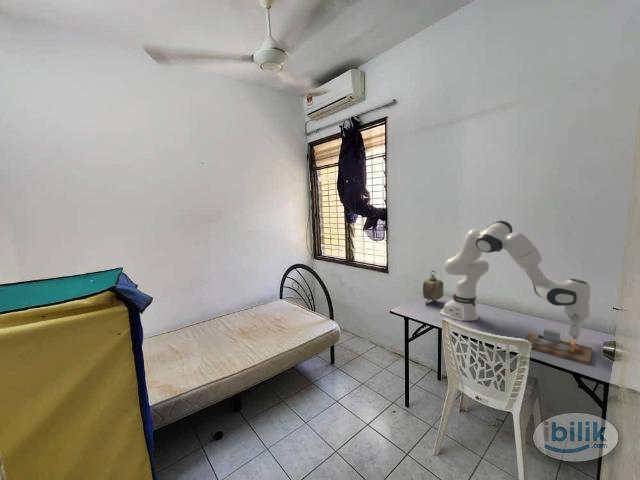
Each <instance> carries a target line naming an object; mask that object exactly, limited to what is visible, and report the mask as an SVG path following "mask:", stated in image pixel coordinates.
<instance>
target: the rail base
mask: <svg viewBox="0 0 640 480" xmlns="http://www.w3.org/2000/svg"><path fill="white" fill-rule="evenodd" d="M525 339H526V340H528V341H529V342H530V343H531V346H532V349H531V350H533V349H534V351H537V350H538V351H537V352H541V351H542V353H544V352H545V354H548V353H549V354H548V355H551V354H552V356H555V357H558V358H559V357H560V358H562V359H567V360H571V361H575V362H577V363H580V364H585V365H588V366H591V361H592V360H591V359H592V350H593V349H592V347H591V346H590V347H589V346H586V345H581V344H578V343H577V344H576V343H575V350H574V352H570V349H571V341H570V340H566V339H561V338H560V344H559V343H555V342H551V341H547V340H543V334H541V333H536V334H535V333H532V332H529V333H528V334H527V336H526V338H525Z"/></svg>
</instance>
